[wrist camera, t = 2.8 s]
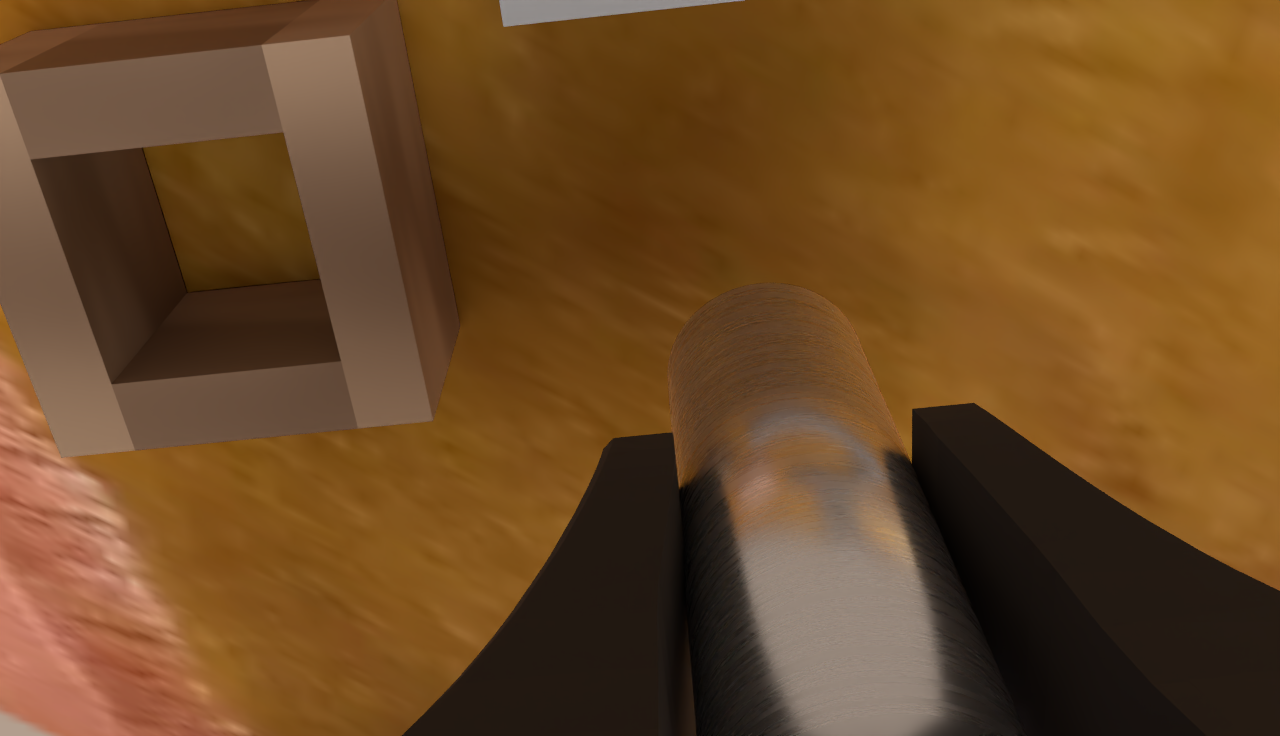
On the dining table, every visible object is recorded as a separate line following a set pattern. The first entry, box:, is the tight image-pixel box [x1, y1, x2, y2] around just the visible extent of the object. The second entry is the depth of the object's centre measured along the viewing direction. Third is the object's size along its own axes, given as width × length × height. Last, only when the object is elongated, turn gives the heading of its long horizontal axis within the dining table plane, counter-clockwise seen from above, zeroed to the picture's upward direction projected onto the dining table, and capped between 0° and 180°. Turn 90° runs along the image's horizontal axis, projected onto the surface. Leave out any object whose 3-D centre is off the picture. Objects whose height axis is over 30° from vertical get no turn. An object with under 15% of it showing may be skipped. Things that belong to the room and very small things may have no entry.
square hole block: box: [0, 0, 460, 458], centre depth 18 cm, size 6×6×4 cm
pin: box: [668, 283, 1027, 736], centre depth 11 cm, size 2×2×7 cm
